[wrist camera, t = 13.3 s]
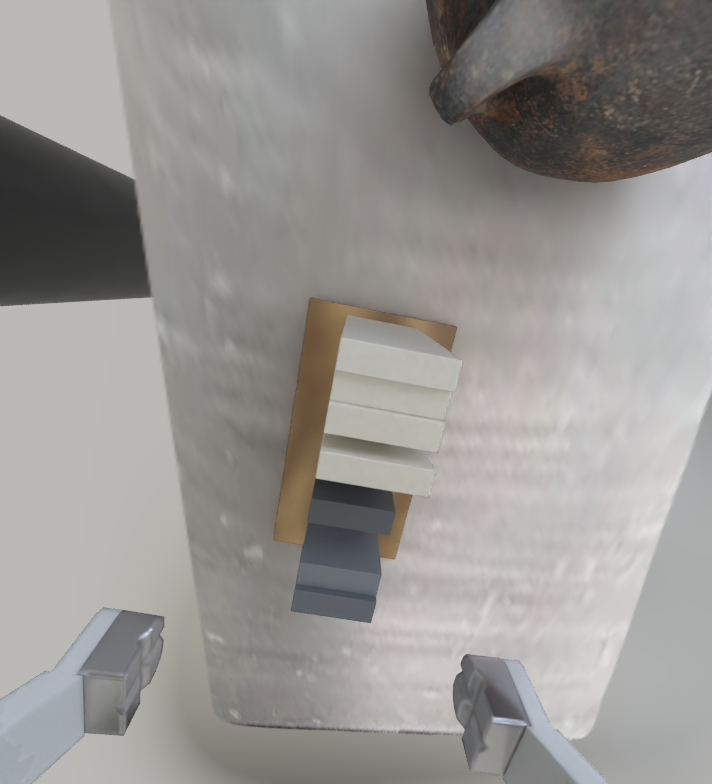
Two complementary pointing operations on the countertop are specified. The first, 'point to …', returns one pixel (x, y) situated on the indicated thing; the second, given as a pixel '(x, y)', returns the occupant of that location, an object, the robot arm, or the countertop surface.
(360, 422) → the cream books
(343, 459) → the thin cream book
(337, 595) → the grey books
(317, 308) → the book board
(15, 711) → the robot arm
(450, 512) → the countertop surface
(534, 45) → the jug
